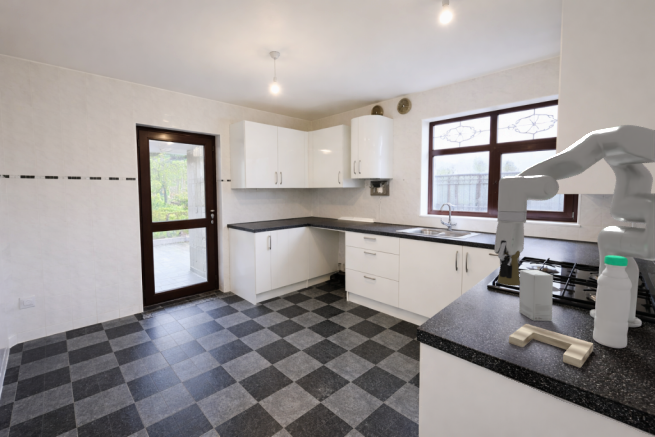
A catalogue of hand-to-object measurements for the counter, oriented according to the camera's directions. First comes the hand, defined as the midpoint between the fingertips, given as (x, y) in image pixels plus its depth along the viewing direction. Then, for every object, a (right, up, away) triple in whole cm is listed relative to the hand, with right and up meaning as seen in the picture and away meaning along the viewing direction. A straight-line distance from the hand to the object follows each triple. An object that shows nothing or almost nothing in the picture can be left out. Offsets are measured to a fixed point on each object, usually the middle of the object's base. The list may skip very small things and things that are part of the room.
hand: (509, 275), depth 94 cm
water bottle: (+24, -18, -8) cm, 31 cm away
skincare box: (+15, -16, +11) cm, 25 cm away
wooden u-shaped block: (+5, -18, -10) cm, 21 cm away
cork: (0, -3, 0) cm, 2 cm away
